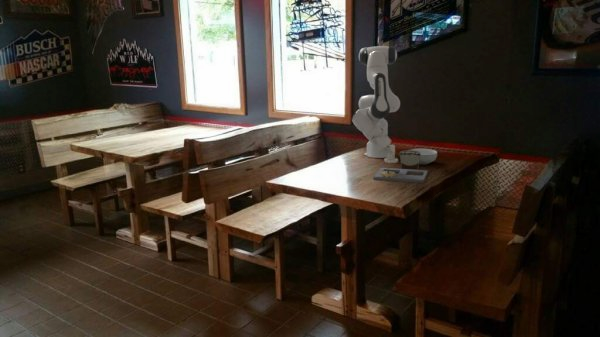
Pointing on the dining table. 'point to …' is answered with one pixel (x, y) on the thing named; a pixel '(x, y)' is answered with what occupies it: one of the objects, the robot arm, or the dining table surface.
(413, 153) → the food container
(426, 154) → the cereal bowl
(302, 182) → the dining table surface
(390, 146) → the gear shaft
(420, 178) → the gear board
